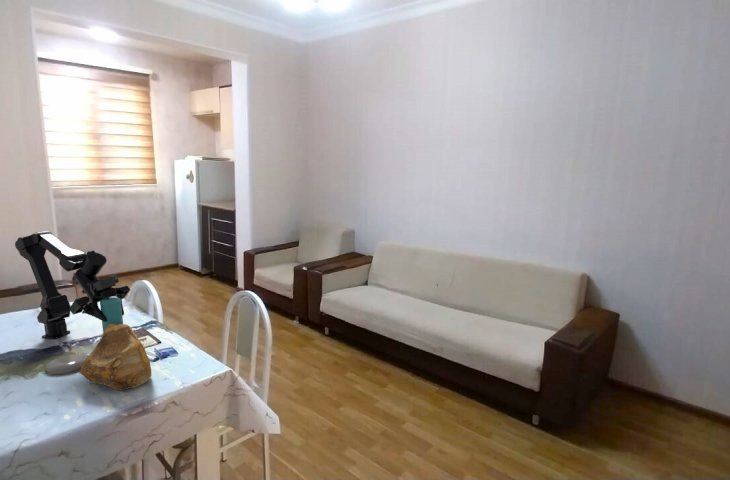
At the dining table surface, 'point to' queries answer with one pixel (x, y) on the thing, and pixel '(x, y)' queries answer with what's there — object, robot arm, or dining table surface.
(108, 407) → the dining table surface
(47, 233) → the robot arm
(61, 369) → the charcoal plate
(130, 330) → the rough brown rock
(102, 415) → the dining table surface
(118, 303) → the beverage bottle
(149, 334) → the chocolate bar
